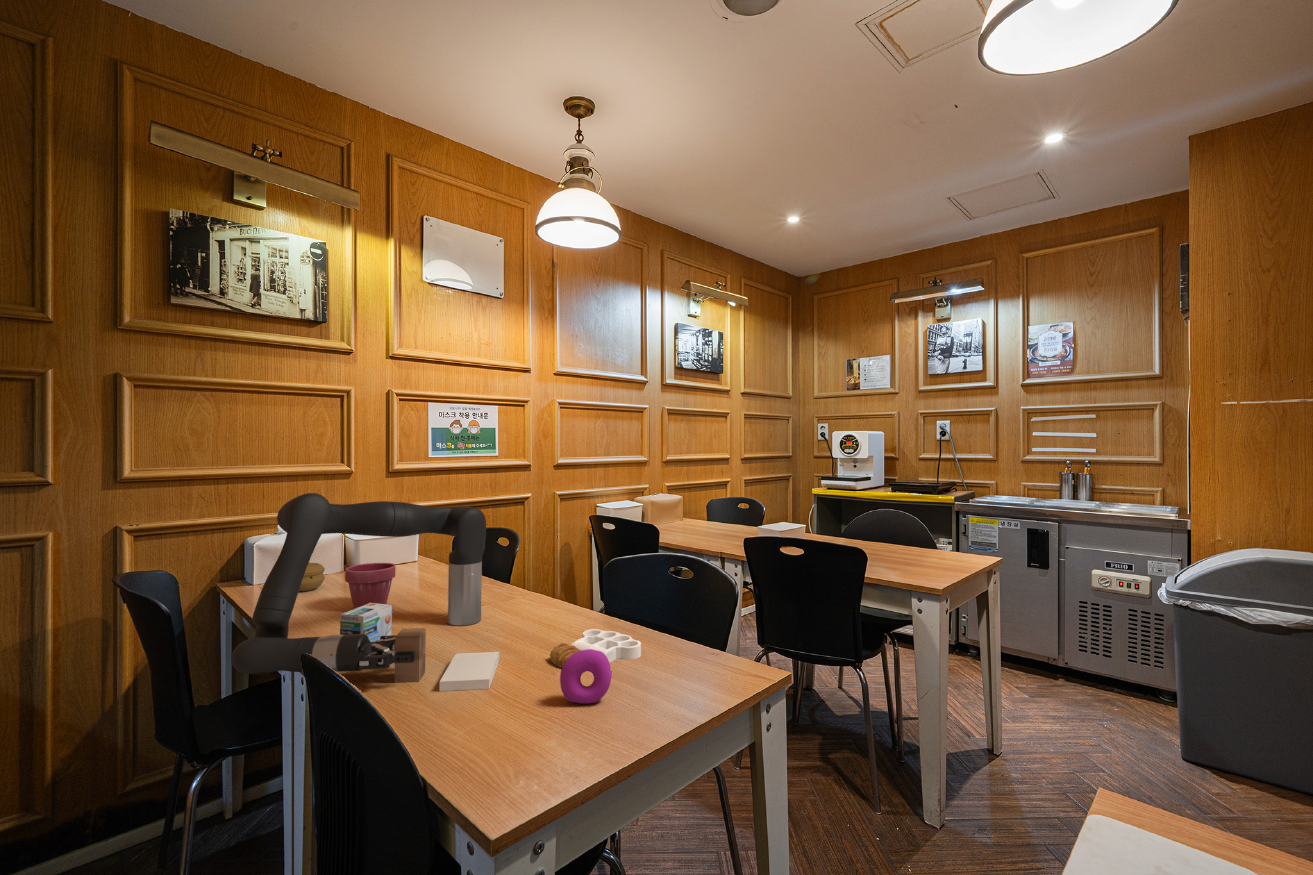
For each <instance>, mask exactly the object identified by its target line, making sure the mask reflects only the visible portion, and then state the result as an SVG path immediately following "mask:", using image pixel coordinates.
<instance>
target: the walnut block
mask: <svg viewBox="0 0 1313 875" xmlns="http://www.w3.org/2000/svg"><path fill="white" fill-rule="evenodd" d="M395 635H396V636H395V652H400V651H415V661H414V662H412V663H396V664H394V684H401V683H403V684H404V683H405V684H406V683H419V682H420V681H421V679H422V678H423V677H424V676H425V674H426V650H427V649H426V648H427V647H426V642H427V641H426V640H427V637H426V636H427V628H426V627H417V628H402V629H400V630H399V632H397V634H395Z"/></svg>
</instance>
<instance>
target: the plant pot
mask: <svg viewBox="0 0 1313 875" xmlns="http://www.w3.org/2000/svg"><path fill="white" fill-rule="evenodd" d="M396 569H397V568H396V564H395V563H392V562H371V563H362V564H356V565H350V566H348V567H346V568H345V570H344V571H345V572H344V573H345V575H344V581H345V582H346V583H348V588H349V594H350V597H351V598H350V599H351V601H352V602H351V603H352V605H353V609H356V608H358V607H361V606H364V605H366V604H369V603H376V604H387V603H388V599H389V596H390V590H391V586H392V582H393V579H394V578H396Z"/></svg>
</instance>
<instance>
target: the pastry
mask: <svg viewBox="0 0 1313 875" xmlns="http://www.w3.org/2000/svg"><path fill="white" fill-rule="evenodd" d="M578 651H579V650H578V648H576V647H575V646H573V645H571V644H569V643H567V642H561V643H558V644H557V645H556V646H554V647H553V648H552V650H551V651H550V654H549V658H550V661H551V663H553V665H555V666H558V667H559V668H561V669H562V667H563V665H564V663H565V662H566V660H567V659H568V658H569V657H570V656H572V655H573V654H574V653H576V652H578Z"/></svg>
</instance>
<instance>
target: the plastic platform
mask: <svg viewBox="0 0 1313 875" xmlns="http://www.w3.org/2000/svg"><path fill="white" fill-rule="evenodd" d="M499 661H500V651H489V652H487V651H485V652H464V653H463V652H461V653H458V652H457V653H455V655H454V657H453V658H452V659H451V661H450V662H449V664H448V666H447V668H446V670H445V672H444V674H443V675H442V677H441V678H440V680H439V692H448V691H449V692H453V691H471V690H472V691H473V690H475V691H476V690H489V689H490V687H491V684H492V682H493V678H494V677H495V674H496V671H497V668H498V665H499Z"/></svg>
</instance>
